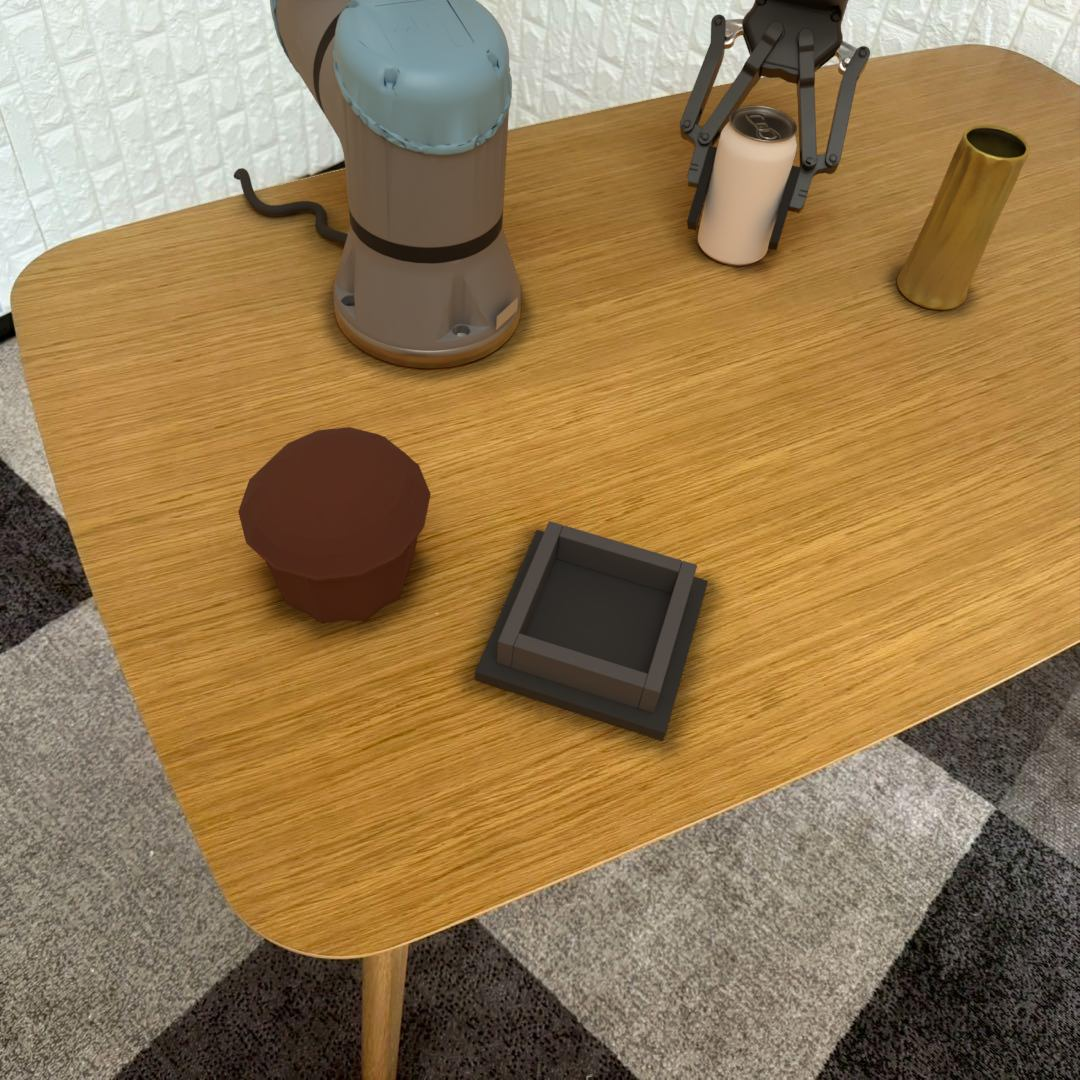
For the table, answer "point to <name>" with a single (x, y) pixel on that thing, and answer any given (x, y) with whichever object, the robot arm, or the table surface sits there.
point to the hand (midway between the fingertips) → (732, 235)
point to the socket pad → (596, 629)
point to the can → (747, 184)
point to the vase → (963, 217)
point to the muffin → (337, 521)
